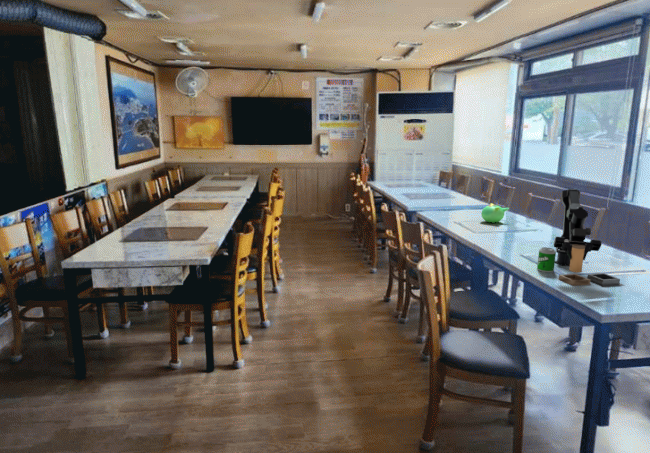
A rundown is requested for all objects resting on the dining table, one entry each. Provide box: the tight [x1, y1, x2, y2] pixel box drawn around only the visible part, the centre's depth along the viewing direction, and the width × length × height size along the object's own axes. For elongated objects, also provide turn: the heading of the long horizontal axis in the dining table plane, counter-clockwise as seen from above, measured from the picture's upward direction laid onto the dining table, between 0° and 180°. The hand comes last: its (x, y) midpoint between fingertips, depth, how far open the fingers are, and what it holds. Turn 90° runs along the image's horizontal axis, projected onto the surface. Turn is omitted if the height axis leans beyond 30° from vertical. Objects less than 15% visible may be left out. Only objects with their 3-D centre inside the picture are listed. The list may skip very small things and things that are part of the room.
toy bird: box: [481, 202, 510, 224], centre depth 346 cm, size 18×17×15 cm
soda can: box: [536, 247, 557, 273], centre depth 222 cm, size 8×8×12 cm
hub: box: [586, 272, 624, 288], centre depth 205 cm, size 12×12×4 cm
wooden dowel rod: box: [568, 244, 585, 273], centre depth 203 cm, size 5×5×12 cm
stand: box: [557, 273, 592, 287], centre depth 206 cm, size 10×10×3 cm
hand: (577, 259), depth 202 cm, fingers closed on wooden dowel rod, 5 cm apart
